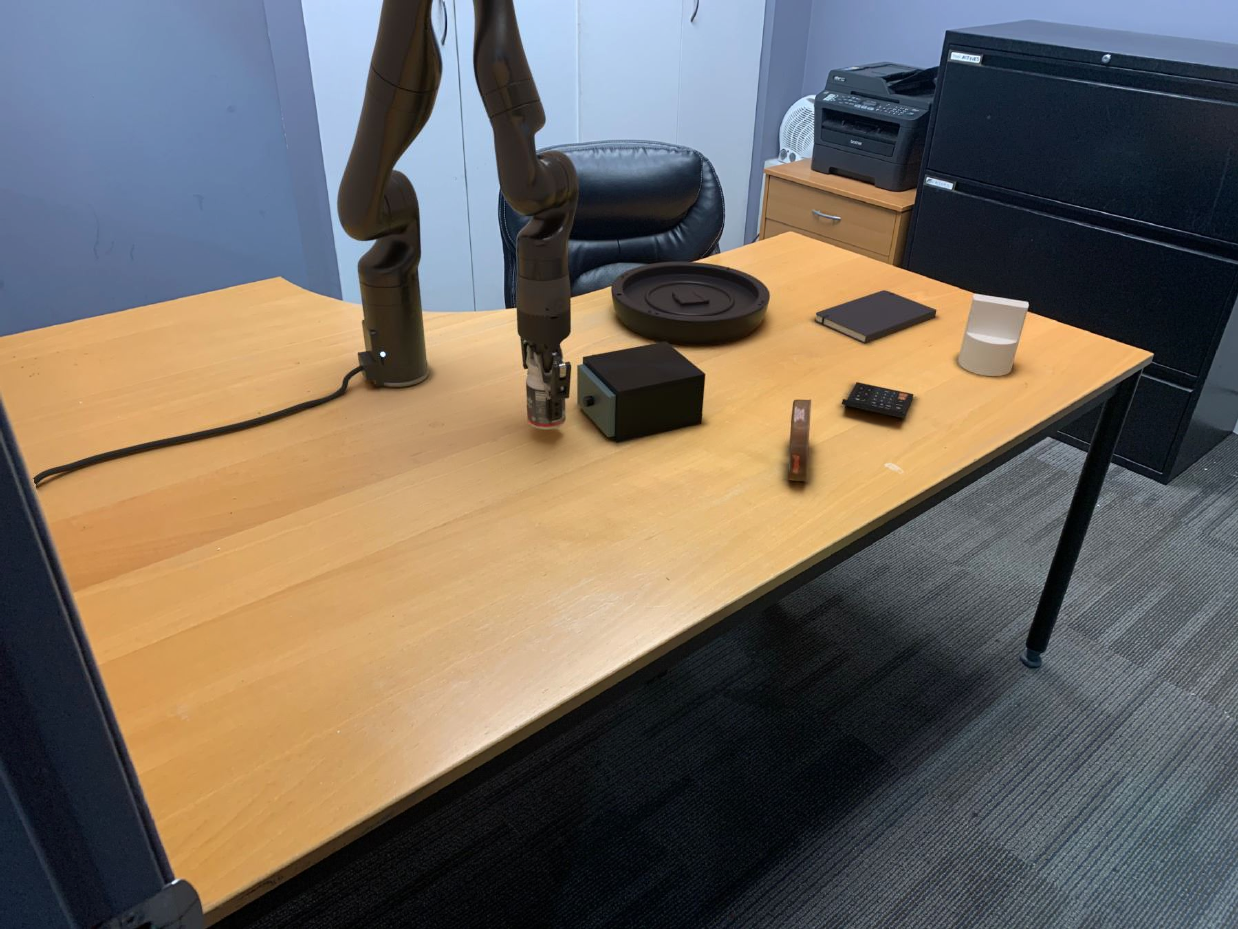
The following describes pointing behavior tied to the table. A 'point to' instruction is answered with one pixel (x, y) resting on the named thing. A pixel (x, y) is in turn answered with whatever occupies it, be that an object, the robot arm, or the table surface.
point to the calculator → (879, 400)
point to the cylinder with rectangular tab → (992, 335)
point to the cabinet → (650, 389)
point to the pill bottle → (539, 401)
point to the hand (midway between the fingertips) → (546, 409)
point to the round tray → (689, 302)
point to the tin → (799, 440)
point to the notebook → (874, 315)
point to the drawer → (596, 399)
